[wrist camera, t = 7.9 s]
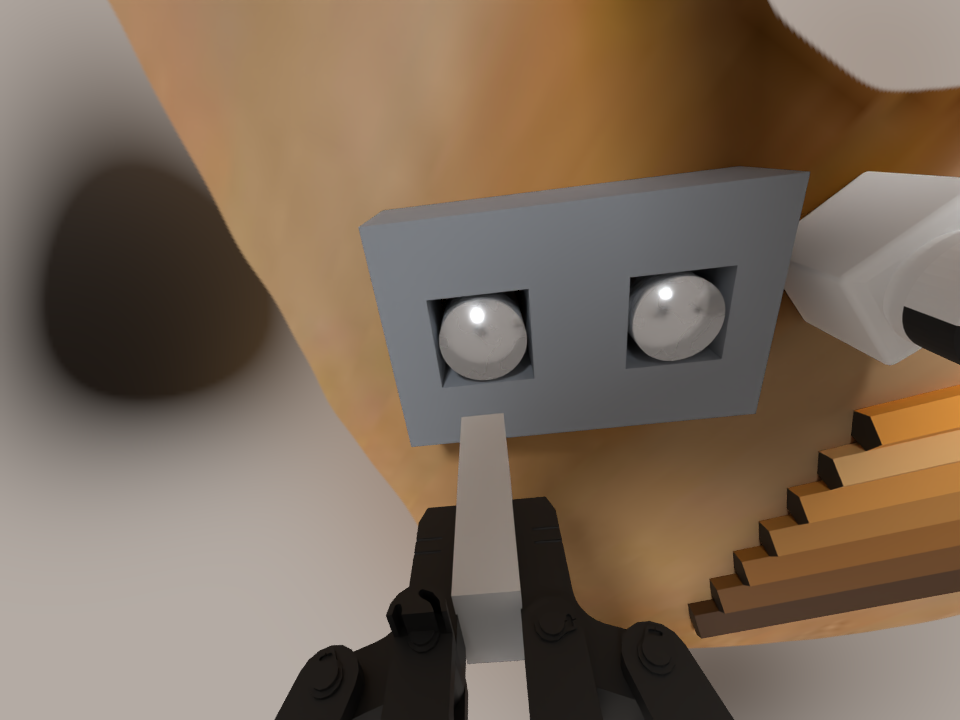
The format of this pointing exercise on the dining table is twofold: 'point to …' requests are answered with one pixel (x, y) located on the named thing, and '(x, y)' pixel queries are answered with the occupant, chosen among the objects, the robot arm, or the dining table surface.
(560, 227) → the peg block
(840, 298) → the medicine bottle
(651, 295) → the steel peg
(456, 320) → the steel peg
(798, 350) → the dining table surface
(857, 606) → the pan flute
